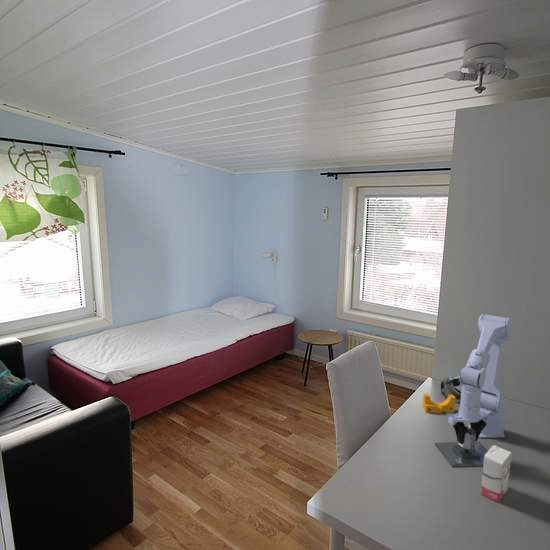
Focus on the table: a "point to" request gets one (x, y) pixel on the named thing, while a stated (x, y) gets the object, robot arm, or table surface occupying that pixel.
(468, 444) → the tube
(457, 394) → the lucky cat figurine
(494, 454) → the ink box
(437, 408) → the yellow curved piece
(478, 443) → the grey square base plate
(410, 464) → the table surface
